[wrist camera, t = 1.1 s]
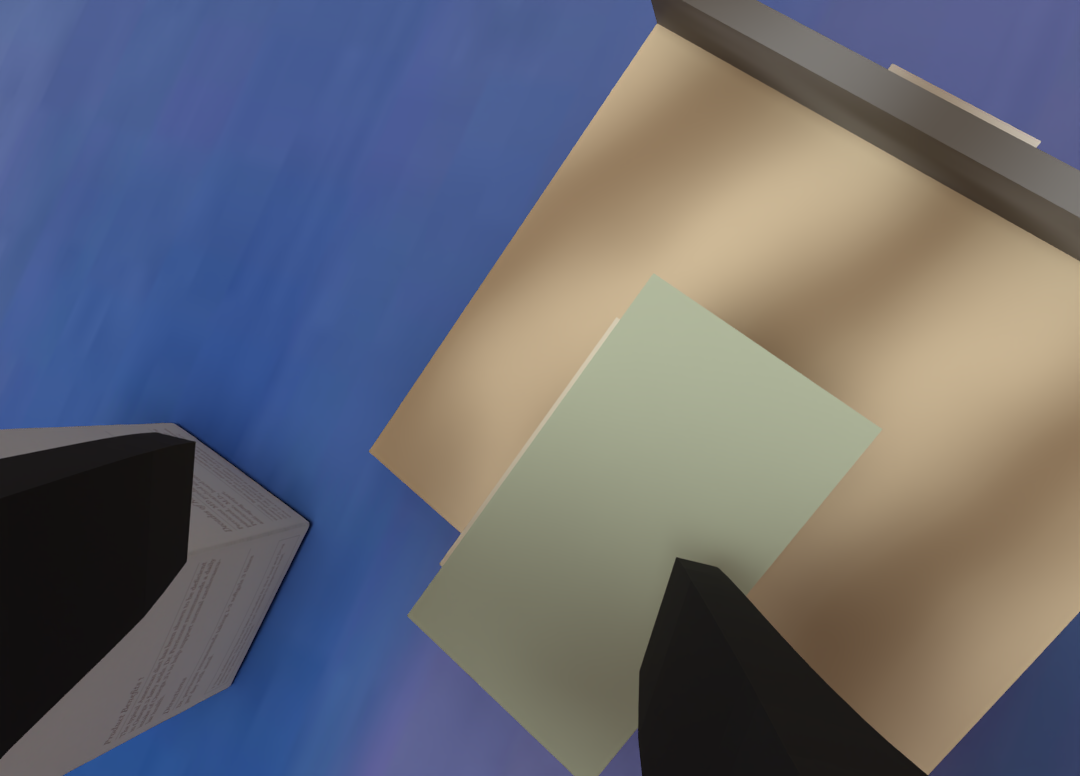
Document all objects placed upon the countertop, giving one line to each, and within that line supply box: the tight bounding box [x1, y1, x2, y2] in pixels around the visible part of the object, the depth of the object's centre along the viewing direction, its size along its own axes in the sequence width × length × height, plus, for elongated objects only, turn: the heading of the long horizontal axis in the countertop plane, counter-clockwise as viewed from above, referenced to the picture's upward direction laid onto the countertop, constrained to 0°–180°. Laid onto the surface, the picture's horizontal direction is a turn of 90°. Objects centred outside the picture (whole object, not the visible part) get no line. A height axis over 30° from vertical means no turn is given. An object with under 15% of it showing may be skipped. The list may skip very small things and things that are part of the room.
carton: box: [407, 273, 882, 776], centre depth 15 cm, size 5×8×7 cm, turn 143°
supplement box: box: [0, 423, 309, 776], centre depth 19 cm, size 7×7×13 cm
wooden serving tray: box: [369, 0, 1080, 775], centre depth 18 cm, size 17×16×4 cm
